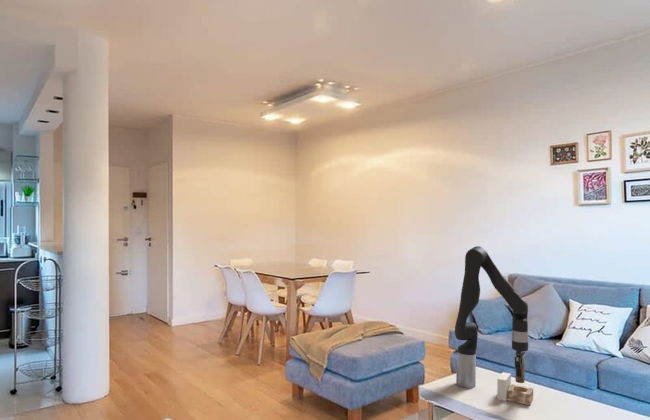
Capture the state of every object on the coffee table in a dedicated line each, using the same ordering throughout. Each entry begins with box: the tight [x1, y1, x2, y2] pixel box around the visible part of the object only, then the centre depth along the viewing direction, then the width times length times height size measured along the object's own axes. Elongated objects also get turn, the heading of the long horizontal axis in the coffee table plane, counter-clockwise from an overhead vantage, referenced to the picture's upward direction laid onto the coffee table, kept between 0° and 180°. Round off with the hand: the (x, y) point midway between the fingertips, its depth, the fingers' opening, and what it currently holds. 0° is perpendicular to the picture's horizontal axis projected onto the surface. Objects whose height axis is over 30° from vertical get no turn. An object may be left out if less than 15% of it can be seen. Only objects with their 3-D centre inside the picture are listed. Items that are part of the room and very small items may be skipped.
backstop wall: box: [496, 372, 512, 402], centre depth 223 cm, size 4×12×10 cm, turn 147°
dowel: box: [515, 358, 525, 384], centre depth 219 cm, size 4×4×12 cm
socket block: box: [507, 383, 534, 406], centre depth 218 cm, size 10×10×5 cm
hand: (519, 375), depth 219 cm, fingers closed on dowel, 4 cm apart
